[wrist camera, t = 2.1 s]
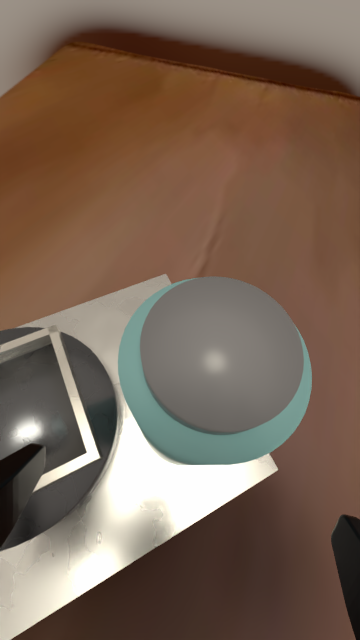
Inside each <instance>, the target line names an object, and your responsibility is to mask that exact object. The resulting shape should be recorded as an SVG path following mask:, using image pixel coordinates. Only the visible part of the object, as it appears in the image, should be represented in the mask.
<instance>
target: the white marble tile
mask: <svg viewBox="0 0 360 640" xmlns="http://www.w3.org/2000/svg"><path fill="white" fill-rule="evenodd" d="M169 285H171V282H170V280H169V279H168V277H167V275H166V274H164V275H161V276H158V277H155V278H153V279H150V280H147V281H144V282H142V283H139V284H136V285H133V286H130V287H128V288H125V289H122V290H119V291H116V292H114V293H111V294H108V295H105V296H103V297H100V298H97V299H94V300H91V301H89V302H86V303H83V304H80V305H77V306H75V307H72V308H69V309H66V310H64V311H61V312H58V313H55V314H52V315H50V316H47V317H44V318H41V319H39V320H36V321H33V322H30V323H27V324H25V325H22V326H19V327H16V328H13V329H8V330H3V331H0V460H1V459H3V458H5V457H7V456H8V455H10V454H12V453H14V452H16V451H17V450H19V449H21V448H23V447H25V446H26V445H28V444H30V443H36V444H41V445H44V446H45V449H46V451H45V468H44V471H43V474H42V476H41V478H40V480H39V481H38V483H37V485H36V487H35V489H34V491H33V493H32V495H31V496H30V498H29V500H28V502H27V504H26V506H25V508H24V510H23V511H22V513H21V515H20V517H19V519H18V521H17V523H16V524H15V526H14V528H13V530H12V531H11V533H10V535H9V536H8V538H7V539H6V541H5V542H4V544H3V546H2V547H1V549H0V640H11V639H12V638H14V637H15V636H17V635H18V634H20V633H22V632H23V631H25V630H26V629H28V628H29V627H31V626H33V625H34V624H36V623H37V622H39V621H41V620H42V619H44V618H45V617H47V616H48V615H50V614H52V613H53V612H55V611H56V610H58V609H59V608H61V607H63V606H64V605H66V604H67V603H69V602H71V601H72V600H74V599H75V598H77V597H78V596H80V595H82V594H83V593H85V592H86V591H88V590H89V589H91V588H93V587H94V586H96V585H97V584H99V583H100V582H102V581H104V580H105V579H107V578H108V577H110V576H112V575H113V574H115V573H116V572H118V571H119V570H121V569H123V568H124V567H126V566H127V565H129V564H130V563H132V562H134V561H135V560H137V559H138V558H140V557H142V556H143V555H145V554H146V553H148V552H149V551H151V550H153V549H154V548H156V547H157V546H159V545H160V544H162V543H164V542H165V541H167V540H168V539H170V538H172V537H173V536H175V535H176V534H178V533H179V532H181V531H183V530H184V529H186V528H187V527H189V526H190V525H192V524H194V523H195V522H197V521H198V520H200V519H201V518H203V517H205V516H206V515H208V514H209V513H211V512H213V511H214V510H216V509H217V508H219V507H220V506H222V505H224V504H225V503H227V502H228V501H230V500H231V499H233V498H235V497H236V496H238V495H239V494H241V493H243V492H244V491H246V490H247V489H249V488H250V487H252V486H254V485H255V484H257V483H258V482H260V481H261V480H263V479H265V478H266V477H268V476H269V475H271V474H273V473H274V472H276V471H277V470H278V468H277V467H276V465H275V463H274V461H273V460H272V458H271V456H270V454H269V453H268V454H266V455H264V456H262V457H260V458H258V459H255V460H252V461H249V462H245V463H239V464H233V465H188V466H182V465H175V464H172V463H169V462H167V461H165V460H163V459H162V458H160V457H159V456H158V455H157V454H155V453H154V451H153V450H152V449H151V448H150V446H149V445H148V443H147V441H146V440H145V438H144V436H143V434H142V432H141V430H140V428H139V426H138V424H137V422H136V421H135V419H134V417H133V415H132V413H131V411H130V409H129V407H128V405H127V403H126V401H125V399H124V395H123V392H122V389H121V386H120V381H119V375H118V353H119V346H120V342H121V338H122V335H123V333H124V330H125V328H126V326H127V324H128V322H129V320H130V319H131V317H132V315H133V314H134V313H135V311H136V310H137V309H138V308H139V307H140V306H141V305H142V303H143V302H144V301H145V300H147V299H148V298H149V297H150V296H152V295H153V294H154V293H156V292H158V291H159V290H161V289H163V288H164V287H167V286H169Z"/></svg>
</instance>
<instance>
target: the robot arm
mask: <svg viewBox="0 0 360 640" xmlns="http://www.w3.org/2000/svg"><path fill="white" fill-rule="evenodd" d="M45 451H46V449H45V446H44V445H41V444H36V443H30V444H28V445H26V446H25V447H23V448H21V449H19V450H17V451H16V452H14V453H12V454H10V455H8V456H7V457H5V458H3V459H1V460H0V549H1V547H2V546H3V544H4V542H5V541H6V539H7V538H8V536H9V535H10V533H11V531H12V530H13V528H14V526H15V524H16V523H17V521H18V519H19V517H20V515H21V513H22V511H23V510H24V508H25V506H26V504H27V502H28V500H29V498H30V496H31V495H32V493H33V491H34V489H35V487H36V485H37V483H38V481H39V480H40V478H41V476H42V474H43V471H44V468H45ZM331 542H332V547H333V552H334V556H335V560H336V565H337V569H338V573H339V578H340V582H341V587H342V591H343V595H344V600H345V604H346V608H347V611H348V615H349V618H350V622H351V625H352V628H353V631H354V634H355V638H356V640H360V520H359V519H358V518H356V517H353V516H349V515H341V516H340V517H339V519H338V522H337V524H336V526H335V528H334V530H333V532H332V535H331Z"/></svg>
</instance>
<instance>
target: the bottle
mask: <svg viewBox="0 0 360 640" xmlns="http://www.w3.org/2000/svg"><path fill="white" fill-rule="evenodd" d="M118 375H119V381H120V386H121V389H122V392H123V395H124V399H125V401H126V403H127V405H128V407H129V409H130V411H131V413H132V415H133V417H134V419H135V421H136V422H137V424H138V426H139V428H140V430H141V432H142V434H143V436H144V438H145V440H146V441H147V443H148V445H149V446H150V448H151V449H152V450H153V451H154V453H155V454H157V455H158V456H159V457H160V458H162V459H163V460H165V461H167V462H169V463H172V464H175V465H182V466H188V465H233V464H239V463H245V462H249V461H252V460H255V459H258V458H260V457H262V456H264V455H266V454H268V453H270V452H272V451H273V450H275V449H276V448H277V447H279V446H280V445H281V444H283V443H284V442H285V441H286V440H287V439H288V438H289V437H290V436H291V435H292V433H293V432H294V431H295V429H296V428H297V427H298V425H299V424H300V422H301V420H302V418H303V416H304V414H305V412H306V409H307V406H308V403H309V399H310V393H311V385H312V373H311V363H310V359H309V355H308V351H307V348H306V346H305V343H304V340H303V339H302V337H301V335H300V333H299V331H298V329H297V328H296V326H295V325H294V323H293V321H292V320H291V318H290V317H289V315H288V314H287V313H286V311H285V310H284V309H283V308H282V307H281V306H280V305H279V304H278V303H277V302H276V301H275V300H274V299H273V298H272V297H270V296H269V295H268V294H267V293H265V292H263V291H262V290H260V289H259V288H257V287H255V286H253V285H250V284H248V283H245V282H243V281H240V280H236V279H232V278H225V277H202V278H194V279H188V280H183V281H180V282H177V283H173V284H171V285H169V286H167V287H164V288H163V289H161V290H159V291H158V292H156V293H154V294H153V295H152V296H150V297H149V298H148V299H147V300H145V301H144V302H143V303H142V305H141V306H140V307H139V308H138V309H137V310H136V311H135V313H134V314H133V315H132V317H131V319H130V320H129V322H128V324H127V326H126V328H125V330H124V333H123V335H122V338H121V342H120V346H119V353H118Z"/></svg>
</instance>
